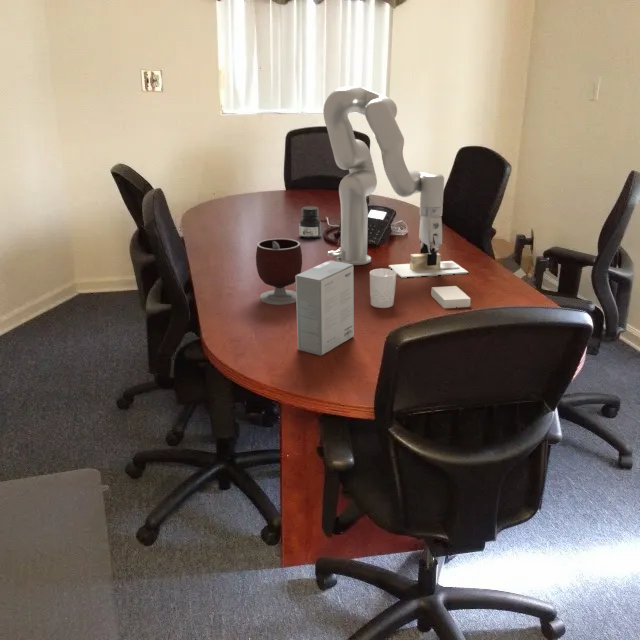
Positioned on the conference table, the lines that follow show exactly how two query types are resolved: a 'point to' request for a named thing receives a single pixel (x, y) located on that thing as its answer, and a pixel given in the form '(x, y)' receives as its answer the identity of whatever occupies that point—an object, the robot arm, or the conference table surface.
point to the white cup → (382, 287)
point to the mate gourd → (278, 268)
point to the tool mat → (424, 271)
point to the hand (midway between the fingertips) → (428, 262)
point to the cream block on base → (421, 263)
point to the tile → (450, 297)
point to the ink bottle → (310, 223)
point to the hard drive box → (325, 306)
